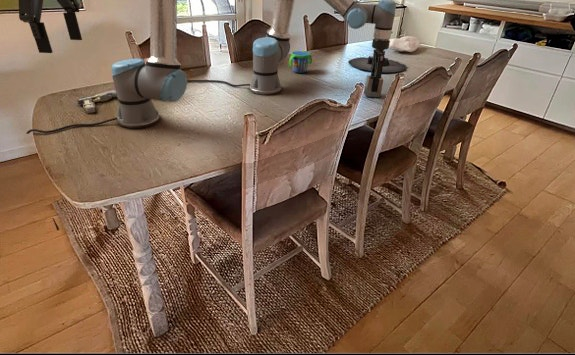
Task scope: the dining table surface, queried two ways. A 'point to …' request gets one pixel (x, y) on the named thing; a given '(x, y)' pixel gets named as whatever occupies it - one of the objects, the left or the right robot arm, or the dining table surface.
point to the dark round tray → (367, 62)
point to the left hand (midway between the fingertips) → (62, 45)
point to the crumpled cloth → (404, 44)
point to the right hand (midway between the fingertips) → (373, 89)
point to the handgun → (95, 100)
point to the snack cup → (300, 61)
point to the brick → (369, 87)
